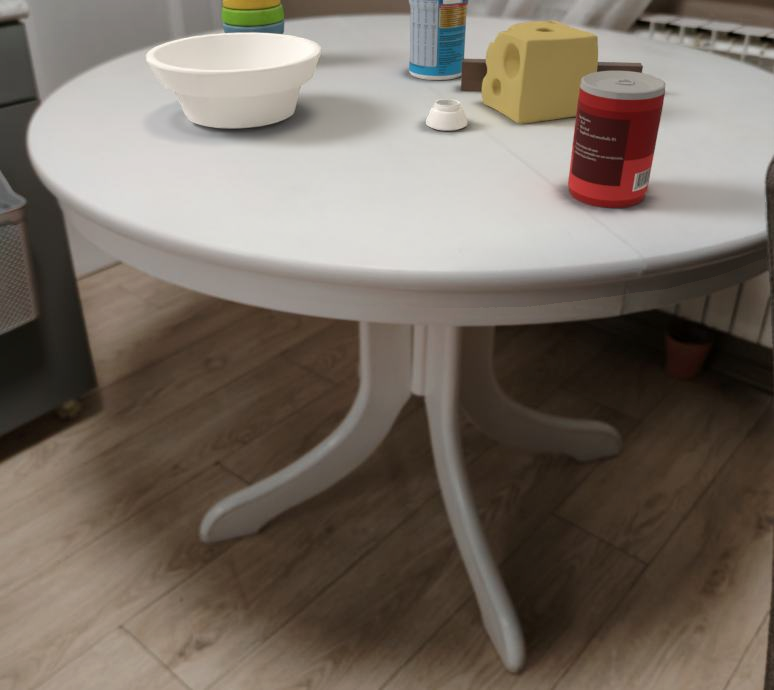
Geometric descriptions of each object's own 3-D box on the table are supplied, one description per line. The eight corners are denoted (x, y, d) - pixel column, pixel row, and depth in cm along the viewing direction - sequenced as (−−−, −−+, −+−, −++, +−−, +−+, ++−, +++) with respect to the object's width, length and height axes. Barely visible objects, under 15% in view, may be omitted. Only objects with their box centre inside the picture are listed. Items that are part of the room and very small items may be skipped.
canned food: (639, 180, 83) (658, 70, 77) (652, 211, 76) (674, 93, 70) (563, 178, 83) (576, 69, 77) (570, 208, 77) (585, 91, 71)
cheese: (480, 104, 106) (484, 24, 101) (551, 95, 109) (559, 17, 104) (517, 126, 98) (525, 40, 93) (593, 117, 101) (605, 33, 96)
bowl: (346, 100, 108) (344, 36, 104) (288, 151, 91) (283, 77, 86) (203, 90, 113) (195, 28, 108) (123, 136, 96) (110, 65, 91)
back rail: (636, 92, 111) (640, 62, 109) (638, 96, 109) (643, 66, 107) (461, 87, 113) (462, 58, 111) (460, 91, 112) (462, 61, 109)
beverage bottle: (402, 80, 117) (403, -75, 106) (414, 66, 124) (416, -81, 113) (459, 83, 115) (466, -74, 104) (469, 69, 122) (476, -80, 111)
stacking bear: (267, 74, 120) (256, -59, 110) (212, 67, 124) (196, -62, 114) (304, 59, 128) (297, -66, 118) (251, 53, 132) (240, -69, 122)
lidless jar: (474, 130, 97) (456, 118, 101) (475, 105, 95) (457, 94, 99) (436, 135, 96) (419, 123, 99) (436, 110, 94) (420, 99, 98)
